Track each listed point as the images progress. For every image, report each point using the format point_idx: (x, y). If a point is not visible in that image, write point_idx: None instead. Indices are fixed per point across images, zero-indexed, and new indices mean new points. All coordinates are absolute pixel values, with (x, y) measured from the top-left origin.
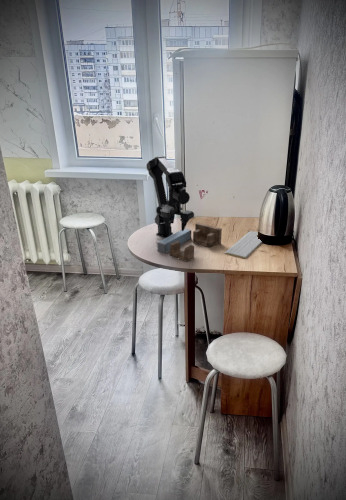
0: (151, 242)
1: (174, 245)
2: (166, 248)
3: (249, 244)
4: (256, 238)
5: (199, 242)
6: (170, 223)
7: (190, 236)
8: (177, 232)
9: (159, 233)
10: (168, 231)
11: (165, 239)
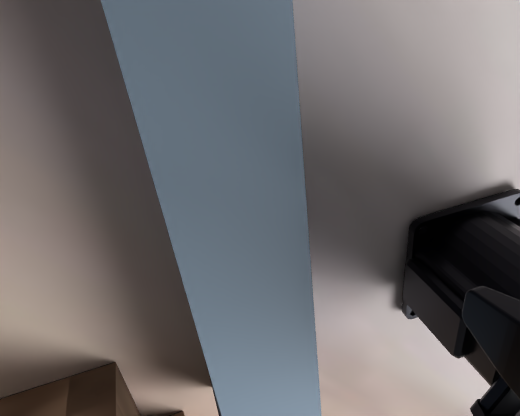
0: (471, 8)
1: None
2: None
3: None
4: None
5: (22, 411)
6: (494, 384)
7: (215, 398)
8: (306, 342)
9: (499, 215)
10: (434, 289)
11: (260, 44)
